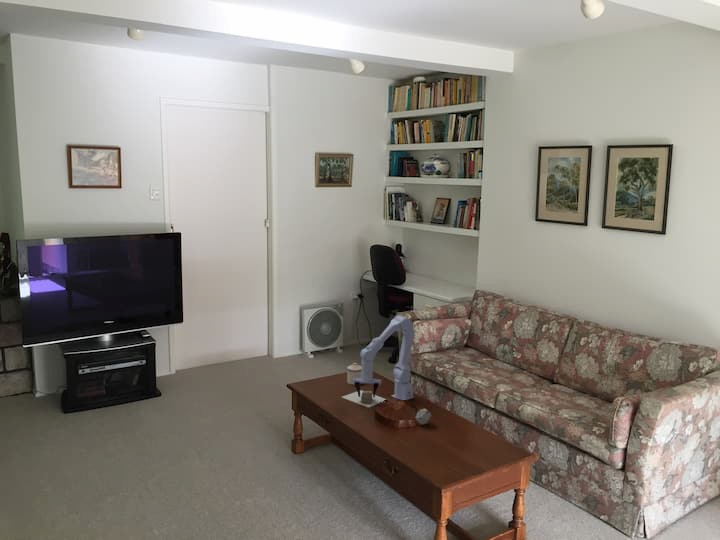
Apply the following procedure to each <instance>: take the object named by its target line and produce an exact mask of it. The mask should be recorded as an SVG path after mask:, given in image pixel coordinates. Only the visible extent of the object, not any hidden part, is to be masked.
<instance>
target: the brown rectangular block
mask: <svg viewBox="0 0 720 540" xmlns="http://www.w3.org/2000/svg"><path fill="white" fill-rule="evenodd" d="M362 391H363V393H362V396H361V403H365V404H371V401H372V394H373V391H364V390H362Z"/></svg>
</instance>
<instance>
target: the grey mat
mask: <svg viewBox="0 0 720 540" xmlns="http://www.w3.org/2000/svg"><path fill="white" fill-rule="evenodd" d="M363 391H364V390H361V389H360V397H358V392H357V391H354V392H352V393H349V394H346V395H343V396H341V399H342V398H343V399H345V400H347V401H349V402H353V403H355V404H358V405H362V406H363V407H366V408H371V407H373V406H376V405H378V404H381V403H383V401H384V400H386V398H385V397H384V398H383V397H381V396H379V395H376V394H375V398H373V393H372V401H371V404H365V403H361V396H362V393H363ZM380 402H381V403H380ZM384 402H385V401H384Z"/></svg>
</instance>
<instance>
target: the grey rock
mask: <svg viewBox="0 0 720 540" xmlns="http://www.w3.org/2000/svg"><path fill="white" fill-rule="evenodd" d="M432 416H434V414H432V413H431V412H430V411H429V410H428V408H427V406H425V408H424V407H423V408H421V409H419V408H417V412H416V414H415V417H413V418H412V419H413V420H416V421H417V422H418V424H419V425H420V427H422V426H423V425H427V424H428V425H430V423H431V420H432V419H431V418H432Z"/></svg>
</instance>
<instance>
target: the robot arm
mask: <svg viewBox="0 0 720 540" xmlns="http://www.w3.org/2000/svg"><path fill="white" fill-rule="evenodd" d="M413 324H414V323H413V321H412V319H410V318H407V317H405V316H403V315H401V314H397V315H395V316H394V317H393V318H392V319H391V320H390V323H388V326H386V328H384V330H383V332H382V333H381V334H380V335H379V337H375V338H373V339H371V342H370V343H369V344H368V345H367V346H365V347H364V348H363V349H361V351H360V353H359V357H360V358H361V366H362V373H361V378H357V379H353V383H355V385H354V387H355V389H356V392H358V397H360V390H361V384H370V385H371V384H373V392H372V394H373V398H375V395H376V393H377V390H378V388H379V385H381V384H382V379H376V378H373V373H374V372H373V366H374V365H373V364H374V363H373V360H375V357H376V355H377V353H378V352H379V351H380V349H382V347H383V346H384V344H385V343H384V342H386V340H388V339H389V338H390V336H392V335H393V334H394V333H395V332H402V334H403V335H402V342H401V347H400V352H399V358H398V362H397V363H396V364H395V367H394V369H393V370H392V375H393V377H394V394H391V395H390V396H391V397H393V398H395V399H399V400H402V401H403V400H406V401H408V400H411V399H413V398H414V395H413V394H414V385H413V384H412V383H411V382H410V380H411V377H412V375H411V367H410V365H409V363H410V357H411V353H412V348H413V341H414V338H415V336H414V335H415V329H414V325H413ZM360 383H361V384H360Z"/></svg>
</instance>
